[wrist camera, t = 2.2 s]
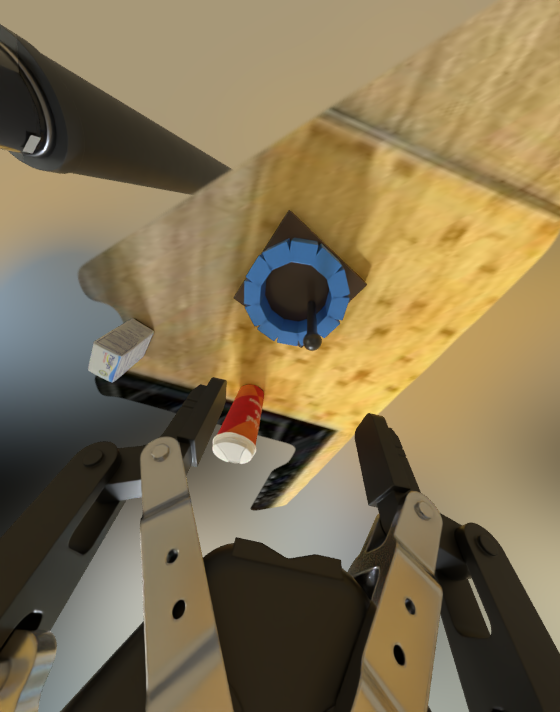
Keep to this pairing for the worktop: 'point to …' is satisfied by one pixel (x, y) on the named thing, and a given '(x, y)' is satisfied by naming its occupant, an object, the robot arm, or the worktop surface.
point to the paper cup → (240, 427)
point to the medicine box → (119, 350)
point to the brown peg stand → (300, 283)
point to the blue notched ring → (303, 254)
